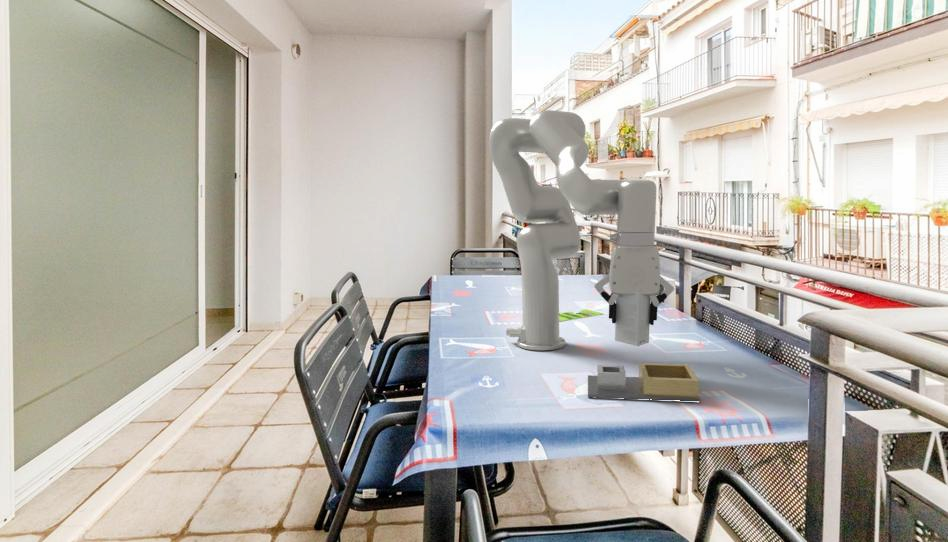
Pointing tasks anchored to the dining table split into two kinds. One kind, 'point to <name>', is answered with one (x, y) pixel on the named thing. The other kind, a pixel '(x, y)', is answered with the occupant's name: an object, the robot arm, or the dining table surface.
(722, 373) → the dining table surface
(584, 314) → the door hanger
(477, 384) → the dining table surface
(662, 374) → the plate
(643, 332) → the skincare box
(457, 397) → the dining table surface
